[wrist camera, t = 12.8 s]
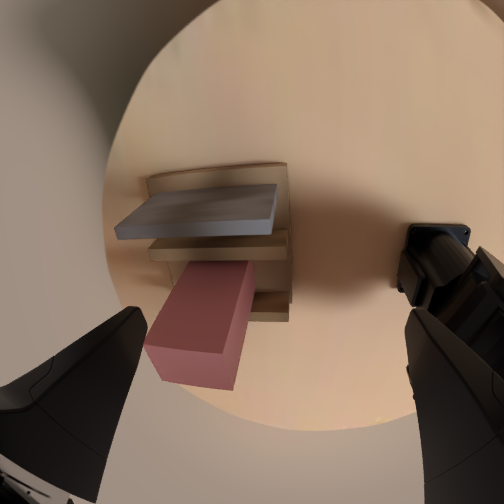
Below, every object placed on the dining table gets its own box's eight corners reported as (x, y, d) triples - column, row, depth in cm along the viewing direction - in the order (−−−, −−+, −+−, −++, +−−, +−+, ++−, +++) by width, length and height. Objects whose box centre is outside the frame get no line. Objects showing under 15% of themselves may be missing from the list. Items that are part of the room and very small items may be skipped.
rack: (286, 163, 18) (283, 194, 12) (292, 296, 24) (288, 358, 18) (151, 175, 20) (99, 209, 14) (182, 293, 26) (154, 348, 20)
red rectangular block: (252, 249, 21) (222, 353, 13) (255, 286, 23) (232, 390, 14) (196, 249, 22) (142, 344, 13) (204, 285, 24) (162, 380, 15)
